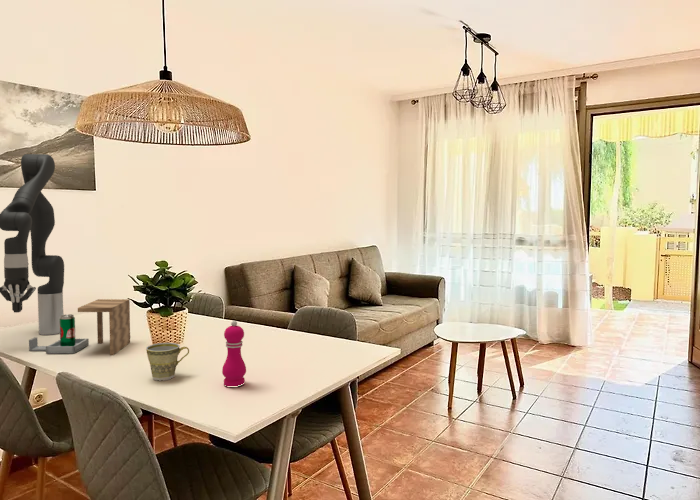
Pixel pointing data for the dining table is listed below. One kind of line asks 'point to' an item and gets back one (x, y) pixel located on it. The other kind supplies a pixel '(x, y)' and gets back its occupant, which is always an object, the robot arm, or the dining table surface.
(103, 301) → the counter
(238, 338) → the pepper mill
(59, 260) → the robot arm
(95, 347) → the dining table surface
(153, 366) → the ceramic cup
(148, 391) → the dining table surface
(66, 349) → the tray
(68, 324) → the soda can
